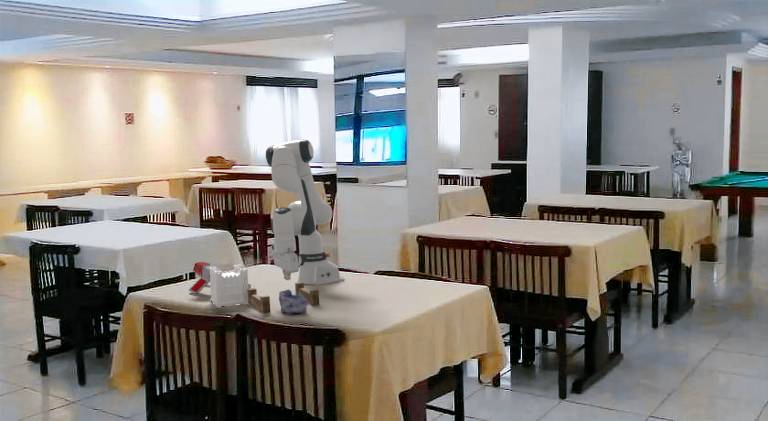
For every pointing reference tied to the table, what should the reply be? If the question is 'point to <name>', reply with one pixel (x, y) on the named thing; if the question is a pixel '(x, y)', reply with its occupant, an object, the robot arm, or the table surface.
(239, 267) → the castle model
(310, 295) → the wooden brackets
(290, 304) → the mineral
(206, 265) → the toy gun
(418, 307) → the table surface
